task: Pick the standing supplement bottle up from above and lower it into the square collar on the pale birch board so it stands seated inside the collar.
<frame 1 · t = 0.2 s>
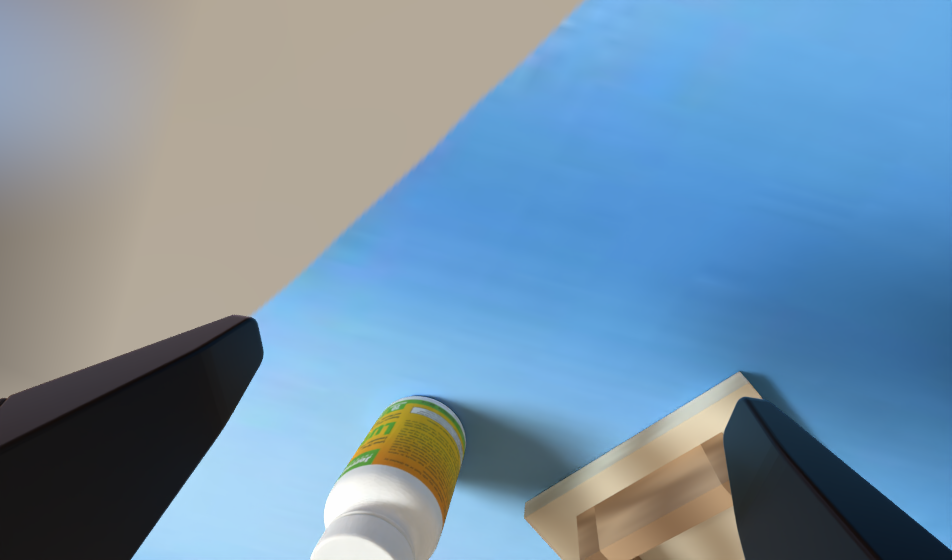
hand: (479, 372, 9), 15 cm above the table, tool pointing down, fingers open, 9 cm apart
supplement bottle: (423, 432, 27), on the table
collar board: (690, 519, 26), on the table
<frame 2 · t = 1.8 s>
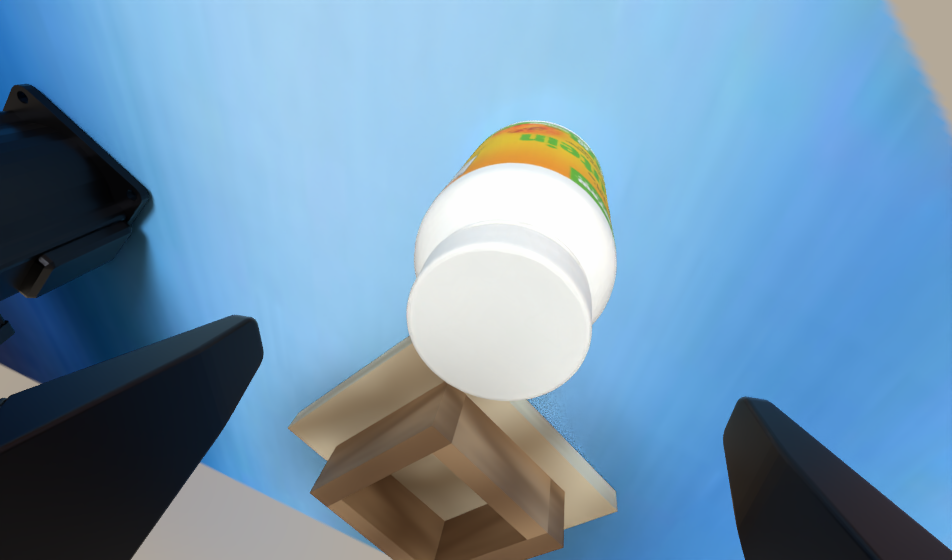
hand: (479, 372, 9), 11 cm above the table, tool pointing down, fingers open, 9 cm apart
supplement bottle: (533, 188, 18), on the table
collar board: (451, 450, 26), on the table
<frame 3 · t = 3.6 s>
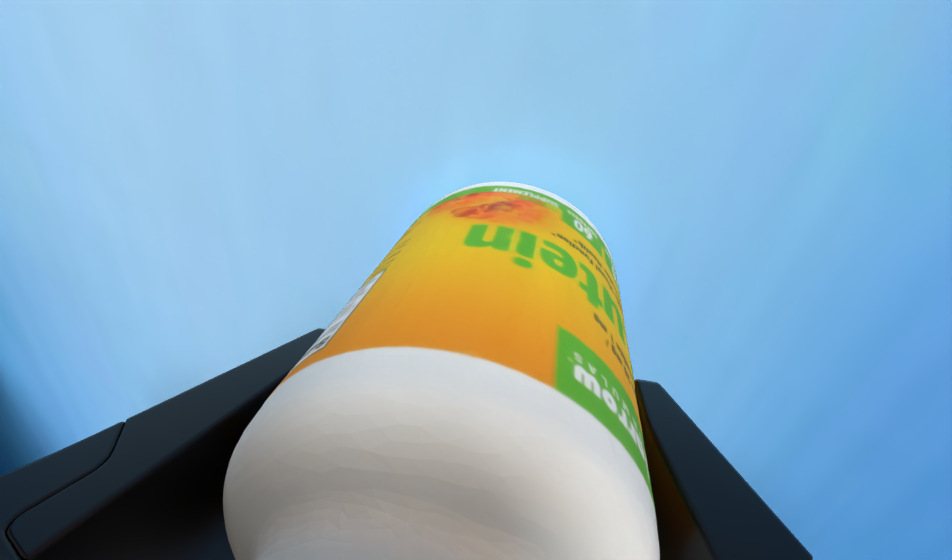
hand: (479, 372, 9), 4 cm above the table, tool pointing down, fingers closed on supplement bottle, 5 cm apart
supplement bottle: (505, 277, 12), on the table, touching gripper
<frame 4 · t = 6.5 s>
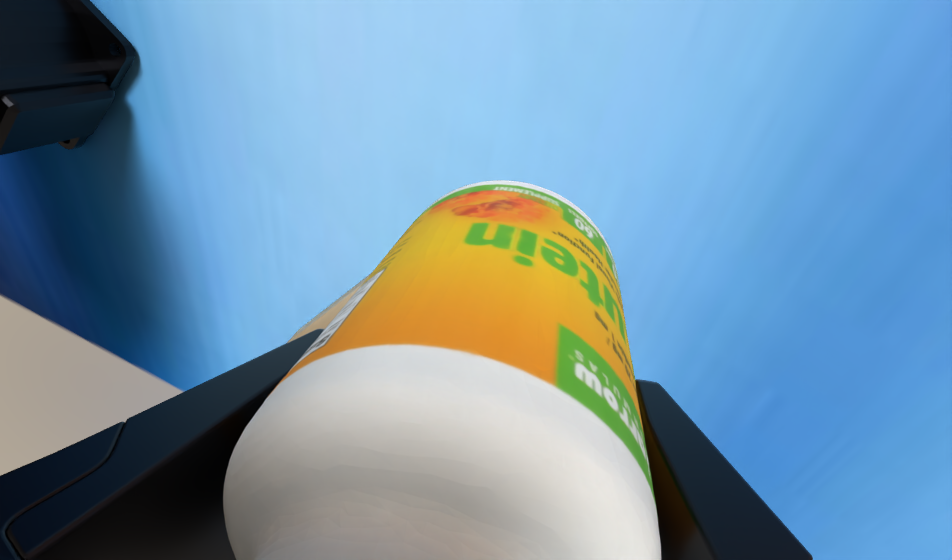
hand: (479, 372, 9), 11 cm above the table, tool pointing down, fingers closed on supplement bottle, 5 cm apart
supplement bottle: (506, 276, 12), point 8 cm above the table, touching gripper
collar board: (468, 372, 24), on the table
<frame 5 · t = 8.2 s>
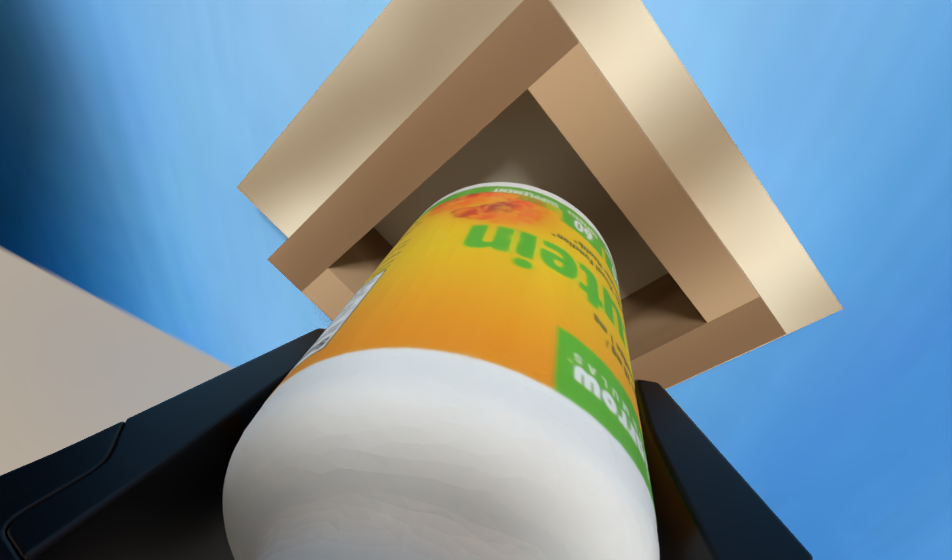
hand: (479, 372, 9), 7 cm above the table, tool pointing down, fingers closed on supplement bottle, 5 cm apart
supplement bottle: (506, 278, 12), point 4 cm above the table, touching gripper
collar board: (523, 229, 15), on the table
when the fingers open (5 cm above the table, at t = 9.5 s): supplement bottle stays where it is, resting on collar board.
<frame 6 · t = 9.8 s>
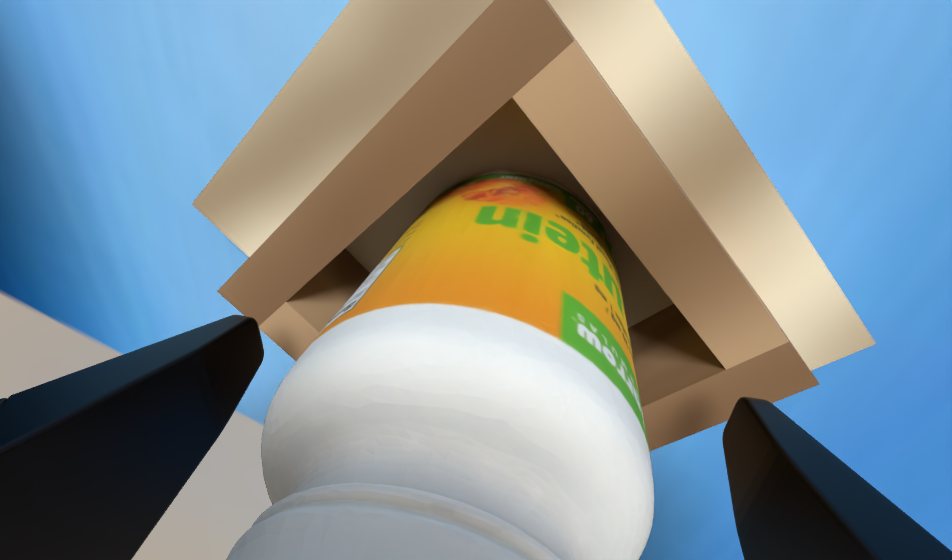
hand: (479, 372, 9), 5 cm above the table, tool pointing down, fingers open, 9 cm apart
supplement bottle: (510, 263, 12), point 1 cm above the table, touching collar board
collar board: (514, 250, 13), on the table
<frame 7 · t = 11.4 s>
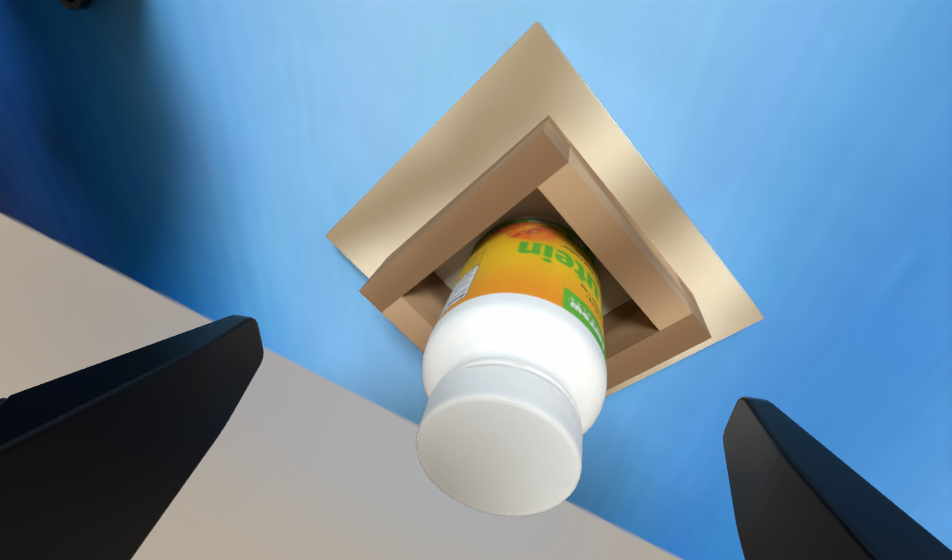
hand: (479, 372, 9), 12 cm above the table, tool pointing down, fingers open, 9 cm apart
supplement bottle: (533, 271, 19), point 1 cm above the table, touching collar board
collar board: (534, 262, 20), on the table
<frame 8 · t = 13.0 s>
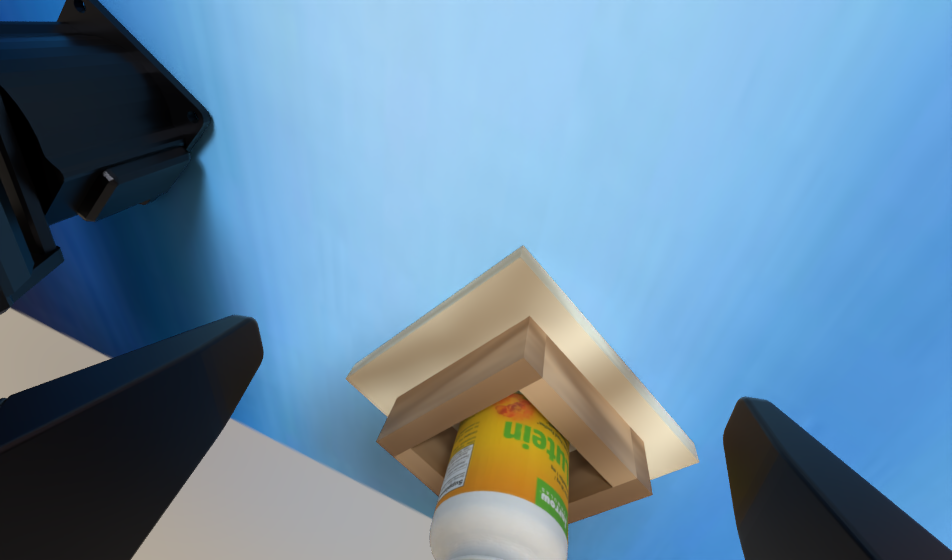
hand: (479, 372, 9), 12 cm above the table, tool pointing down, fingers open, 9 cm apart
supplement bottle: (516, 415, 24), point 1 cm above the table, touching collar board
collar board: (518, 402, 25), on the table
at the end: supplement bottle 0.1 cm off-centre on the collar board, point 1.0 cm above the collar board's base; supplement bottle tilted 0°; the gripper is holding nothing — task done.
